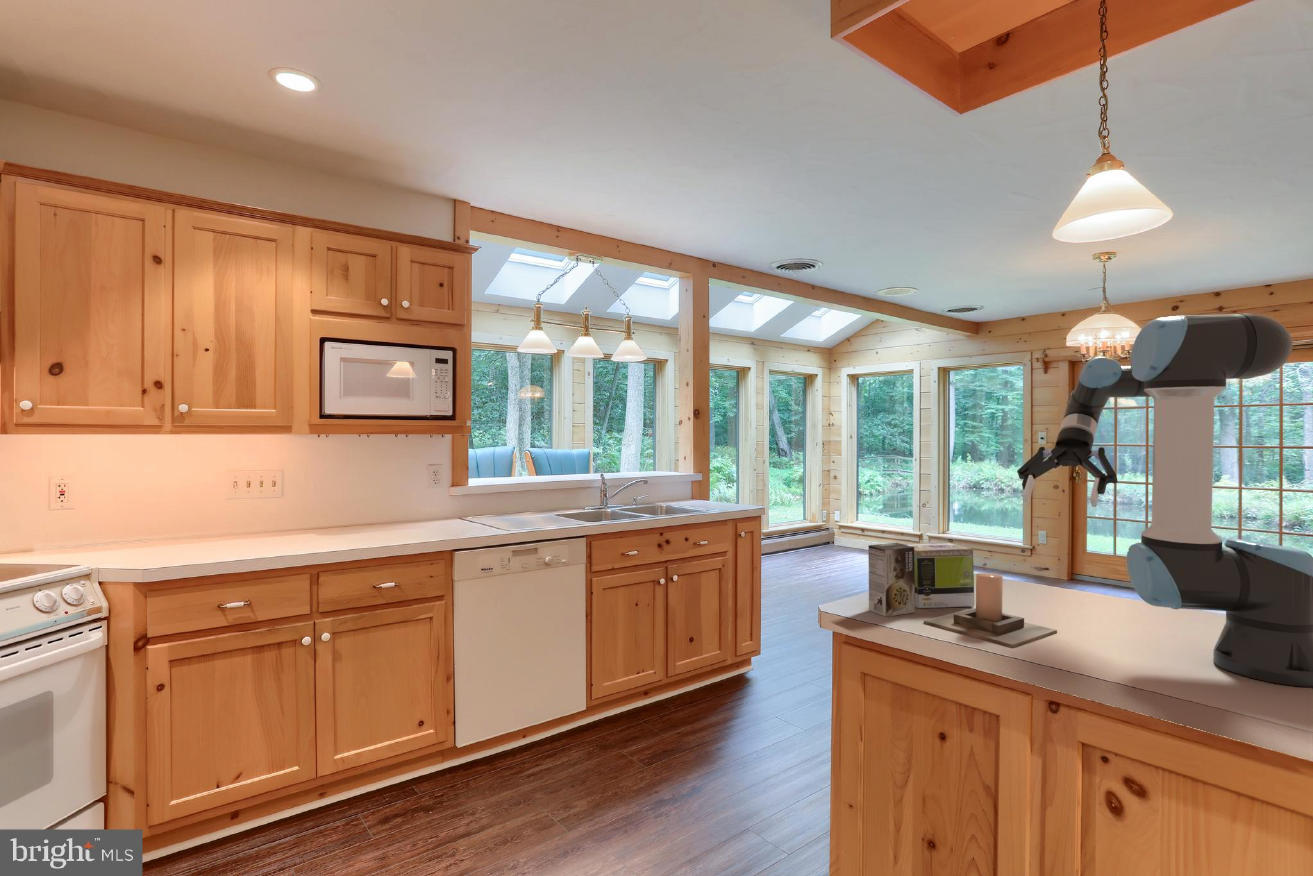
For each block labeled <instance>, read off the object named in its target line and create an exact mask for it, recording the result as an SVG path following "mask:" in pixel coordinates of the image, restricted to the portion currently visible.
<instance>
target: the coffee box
mask: <svg viewBox="0 0 1313 876" xmlns="http://www.w3.org/2000/svg"><path fill="white" fill-rule="evenodd" d="M868 611H870V612H871V613H872V612H873V613H875V614H878V615H880V616H883V617H894V616H900V615H907V614H914V613H916V607H915V561H914V547H912V546H908V545H905V544H904V543H900V542H893V543H892V542H890V543H880V544H871V545H870V544H869V545H868Z"/></svg>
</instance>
